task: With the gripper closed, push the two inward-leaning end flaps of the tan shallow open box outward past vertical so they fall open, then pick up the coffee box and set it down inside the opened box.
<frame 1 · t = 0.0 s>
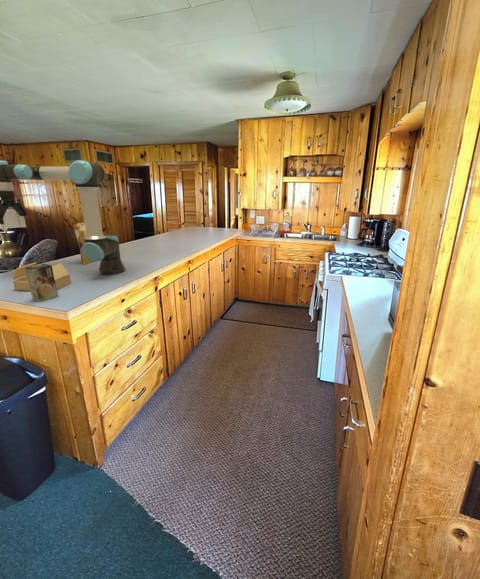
hand: (14, 228, 172), 28 cm above the counter, fingers open, 13 cm apart
flap 2: (56, 271, 156), point 9 cm above the counter, hinge at -30.0°
pancake mix bag: (88, 262, 213), on the counter
flap 1: (25, 270, 158), point 9 cm above the counter, hinge at -30.0°
coffee box: (45, 298, 144), on the counter
tan shallow open box: (44, 286, 160), on the counter
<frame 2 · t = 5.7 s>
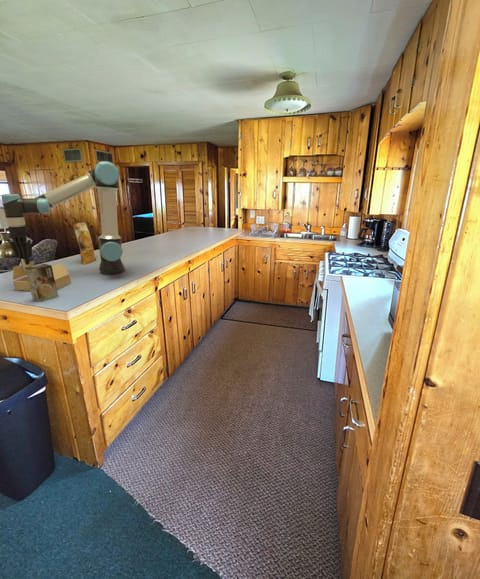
hand: (26, 270, 157), 9 cm above the counter, fingers closed
flap 1: (23, 270, 158), point 9 cm above the counter, hinge at -18.2°, touching gripper
everything else where it was.
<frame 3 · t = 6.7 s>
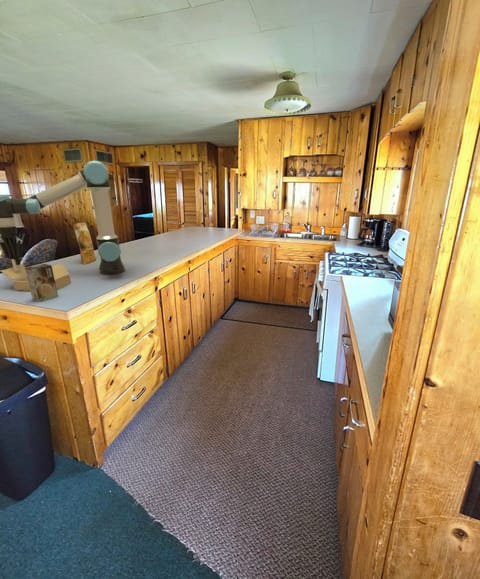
hand: (17, 270, 158), 9 cm above the counter, fingers closed
flap 1: (17, 271, 158), point 8 cm above the counter, hinge at 50.4°
everything else where it was.
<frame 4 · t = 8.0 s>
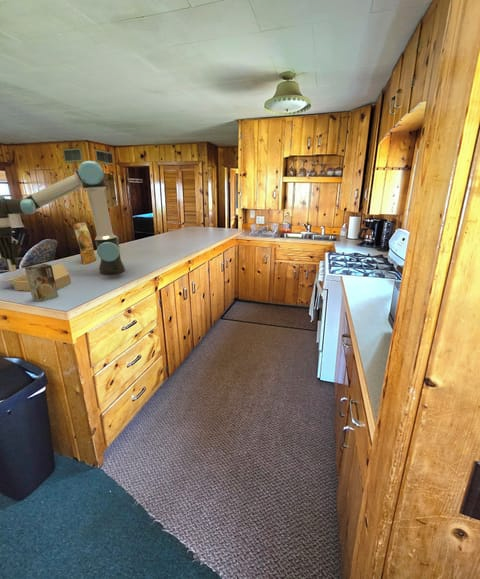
hand: (13, 270, 158), 8 cm above the counter, fingers closed
flap 1: (17, 277, 159), point 5 cm above the counter, hinge at 100.4°
everything else where it was.
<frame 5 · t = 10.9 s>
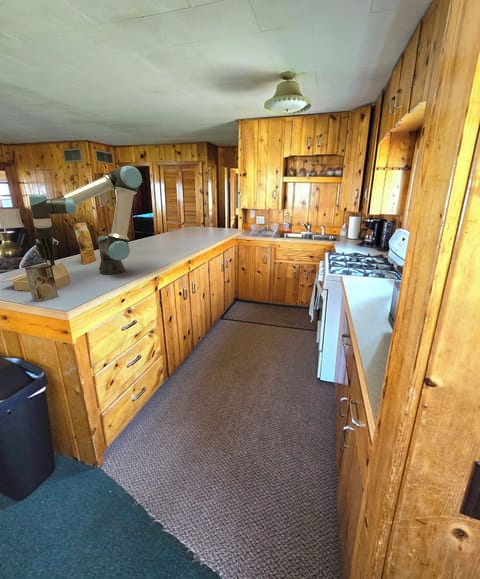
hand: (52, 271, 156), 9 cm above the counter, fingers closed
flap 2: (57, 271, 156), point 9 cm above the counter, hinge at -24.4°, touching gripper
everything else where it was.
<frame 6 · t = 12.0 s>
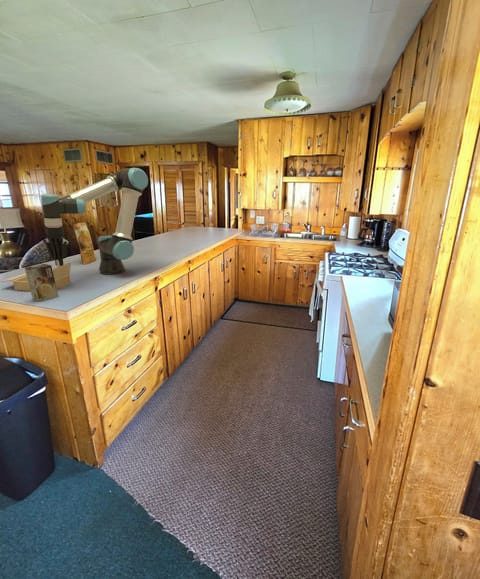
hand: (60, 271, 156), 9 cm above the counter, fingers closed
flap 2: (61, 271, 156), point 9 cm above the counter, hinge at 16.4°, touching gripper
everything else where it was.
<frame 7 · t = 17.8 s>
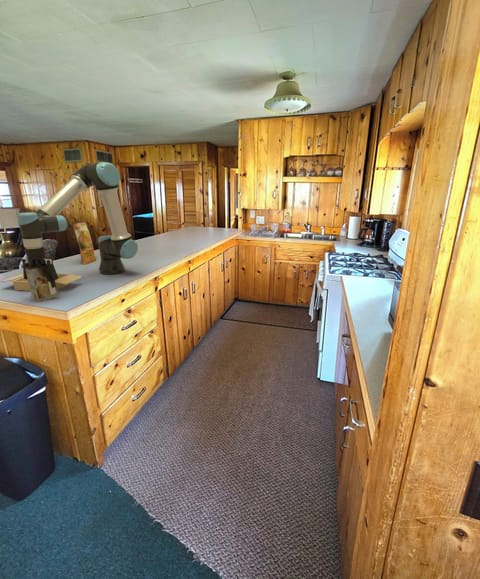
hand: (44, 293, 143), 2 cm above the counter, fingers closed on coffee box, 8 cm apart
flap 2: (67, 279, 157), point 5 cm above the counter, hinge at 100.4°
coffee box: (45, 298, 144), on the counter, touching gripper
everything else where it was.
when the fingers open (5 cm above the counter, at t = 24.1 s): coffee box drops 2 cm, resting on tan shallow open box.
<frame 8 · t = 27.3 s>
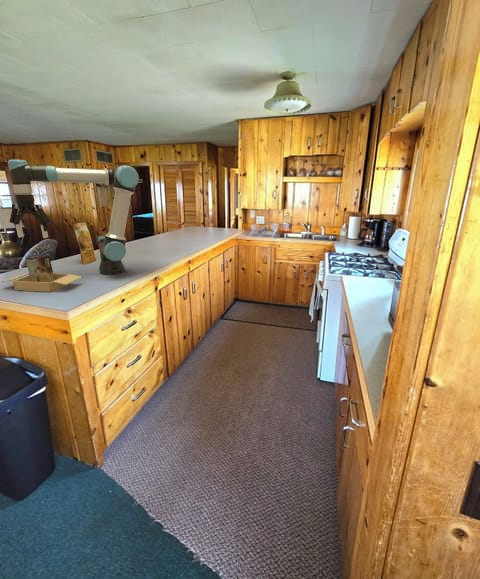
hand: (33, 237, 151), 27 cm above the counter, fingers open, 13 cm apart
coffee box: (44, 286, 160), resting on tan shallow open box
everything else where it was.
at the end: flap 1 at +100° (first picture: -30°); flap 2 at +100° (first picture: -30°); coffee box inside the target area on the tan shallow open box (0.0 cm from its centre), point 0.3 cm above the tan shallow open box's base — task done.
